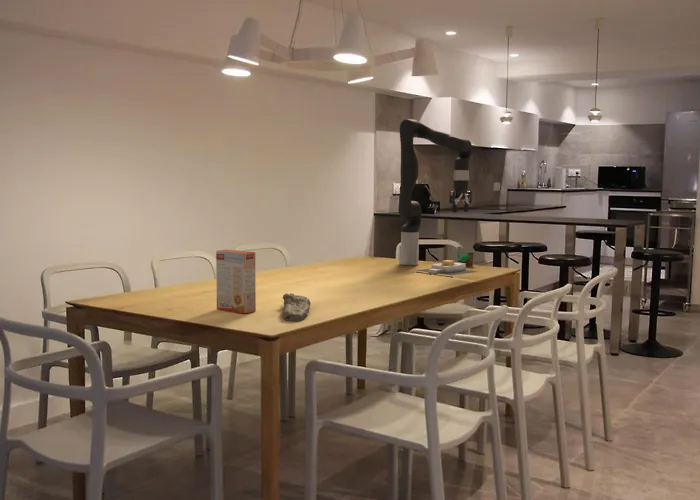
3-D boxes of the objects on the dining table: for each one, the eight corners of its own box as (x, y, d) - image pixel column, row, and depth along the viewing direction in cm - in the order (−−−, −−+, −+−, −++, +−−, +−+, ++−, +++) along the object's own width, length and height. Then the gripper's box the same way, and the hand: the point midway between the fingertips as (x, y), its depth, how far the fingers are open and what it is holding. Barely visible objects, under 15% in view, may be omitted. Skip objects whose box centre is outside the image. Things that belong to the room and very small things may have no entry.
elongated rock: (277, 326, 234) (308, 328, 234) (278, 310, 233) (309, 312, 233) (283, 301, 268) (310, 302, 269) (284, 287, 267) (311, 289, 268)
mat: (416, 272, 351) (416, 270, 351) (443, 268, 365) (443, 267, 365) (451, 277, 335) (451, 275, 335) (478, 273, 349) (478, 271, 349)
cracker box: (256, 312, 249) (256, 251, 247) (243, 314, 244) (243, 253, 242) (229, 307, 258) (228, 248, 255) (216, 309, 253) (215, 250, 251)
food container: (450, 265, 378) (451, 246, 377) (460, 265, 380) (461, 246, 379) (463, 268, 367) (464, 249, 366) (474, 268, 369) (474, 248, 368)
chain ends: (424, 271, 346) (424, 265, 346) (454, 268, 361) (454, 262, 360) (439, 274, 339) (439, 267, 339) (469, 270, 354) (469, 263, 354)
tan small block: (442, 271, 350) (442, 260, 349) (447, 270, 352) (447, 260, 352) (448, 271, 347) (449, 261, 346) (454, 271, 350) (454, 260, 349)
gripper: (464, 179, 366) (463, 211, 368) (445, 179, 357) (445, 212, 359) (476, 179, 361) (475, 212, 363) (457, 179, 351) (456, 213, 353)
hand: (460, 212), depth 361 cm, fingers open, 8 cm apart
